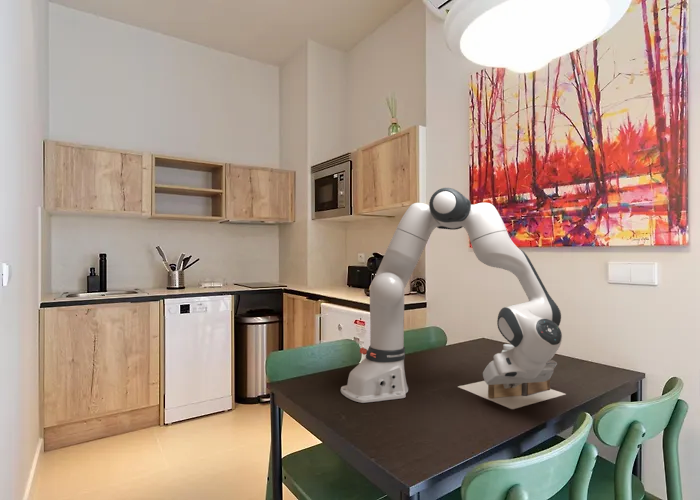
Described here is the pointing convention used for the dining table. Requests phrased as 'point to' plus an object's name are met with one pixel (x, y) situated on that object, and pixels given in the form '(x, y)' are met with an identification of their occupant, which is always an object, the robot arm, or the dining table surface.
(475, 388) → the card
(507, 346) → the supplement bottle
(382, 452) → the dining table surface
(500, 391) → the folding fence section
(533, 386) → the fixed fence section
